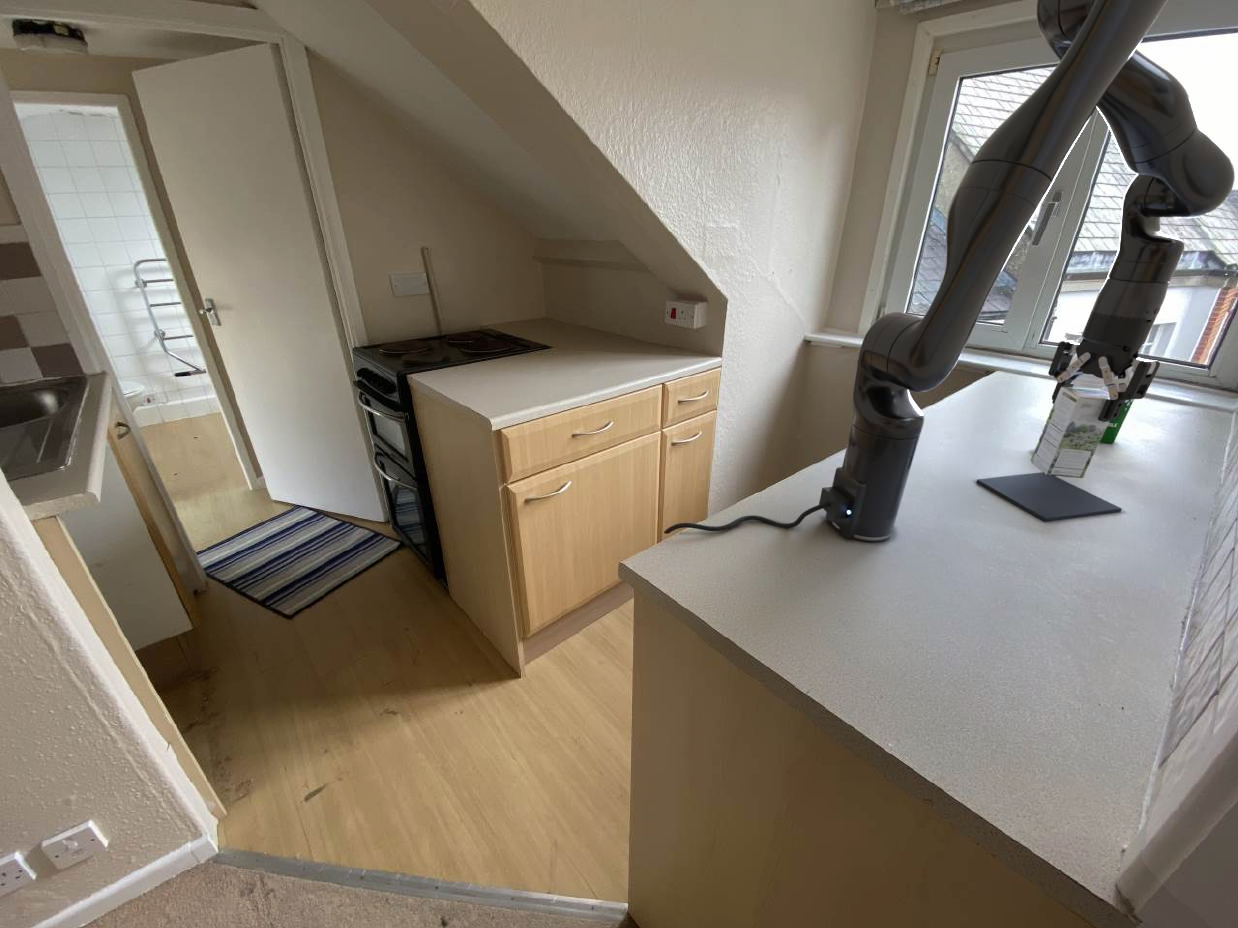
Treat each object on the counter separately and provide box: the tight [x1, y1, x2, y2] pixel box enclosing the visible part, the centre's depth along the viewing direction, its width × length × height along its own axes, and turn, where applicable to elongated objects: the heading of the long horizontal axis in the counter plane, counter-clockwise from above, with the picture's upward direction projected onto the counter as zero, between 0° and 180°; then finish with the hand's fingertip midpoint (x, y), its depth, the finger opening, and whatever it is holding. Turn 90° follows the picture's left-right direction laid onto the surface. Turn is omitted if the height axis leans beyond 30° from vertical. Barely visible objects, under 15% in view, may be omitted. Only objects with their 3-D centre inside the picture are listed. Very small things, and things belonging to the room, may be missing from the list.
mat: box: [976, 471, 1123, 522], centre depth 95 cm, size 16×14×1 cm
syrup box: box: [1030, 387, 1110, 479], centre depth 89 cm, size 6×6×14 cm
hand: (1080, 412), depth 88 cm, fingers closed on syrup box, 7 cm apart
